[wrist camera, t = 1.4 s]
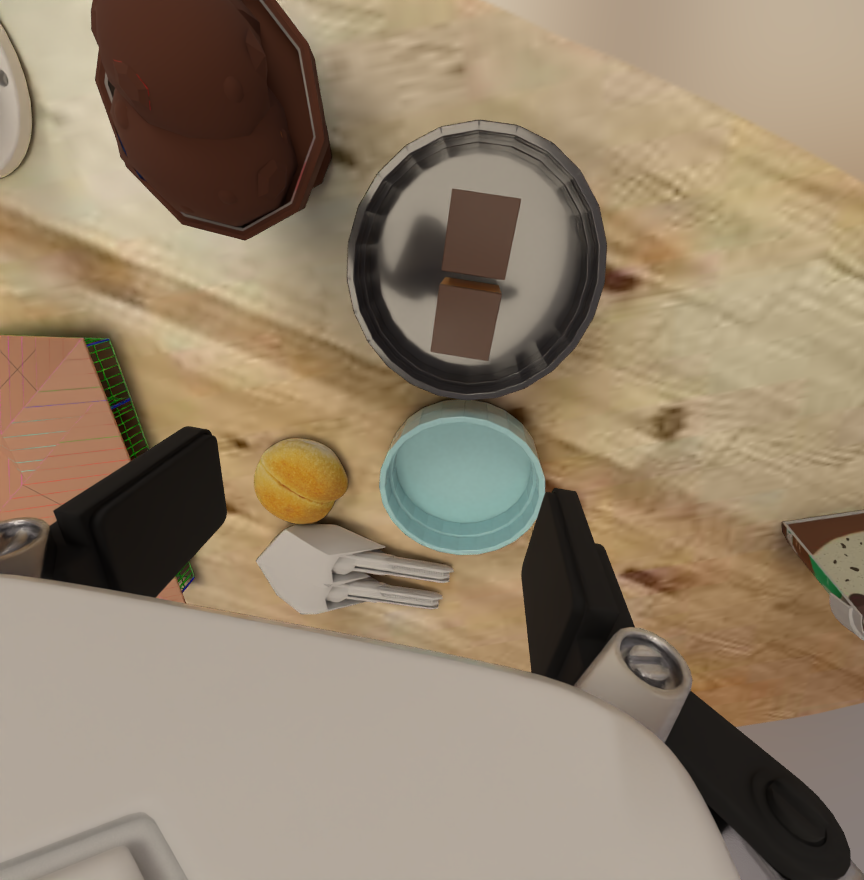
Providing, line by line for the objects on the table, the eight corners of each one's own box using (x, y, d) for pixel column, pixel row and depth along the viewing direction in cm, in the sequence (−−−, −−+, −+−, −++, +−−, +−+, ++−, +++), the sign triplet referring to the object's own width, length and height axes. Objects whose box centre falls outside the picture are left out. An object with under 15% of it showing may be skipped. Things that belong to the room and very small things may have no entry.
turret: (432, 598, 49) (434, 634, 45) (261, 573, 46) (246, 609, 41) (456, 537, 44) (461, 571, 40) (268, 505, 41) (252, 538, 37)
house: (40, 583, 52) (-30, 639, 45) (-117, 321, 37) (-262, 343, 30) (208, 599, 50) (163, 661, 43) (115, 329, 35) (20, 354, 28)
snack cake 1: (446, 265, 29) (441, 270, 25) (456, 195, 27) (452, 188, 23) (501, 273, 29) (504, 280, 25) (514, 203, 27) (521, 198, 23)
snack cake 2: (436, 336, 32) (430, 352, 28) (445, 276, 30) (439, 284, 26) (487, 344, 32) (488, 361, 27) (498, 285, 30) (502, 293, 25)
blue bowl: (383, 512, 41) (374, 540, 37) (396, 385, 35) (386, 403, 31) (518, 535, 41) (522, 566, 37) (556, 411, 34) (565, 433, 30)
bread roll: (363, 466, 39) (352, 489, 35) (318, 521, 43) (304, 548, 39) (289, 415, 37) (269, 435, 34) (249, 478, 41) (227, 501, 37)
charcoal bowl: (358, 364, 34) (343, 380, 30) (369, 119, 26) (352, 101, 23) (553, 395, 34) (562, 416, 30) (624, 156, 26) (648, 143, 22)
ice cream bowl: (209, 21, 25) (-99, -218, 12) (384, 67, 25) (277, -118, 12) (214, 213, 30) (2, 198, 17) (360, 251, 30) (266, 265, 17)
